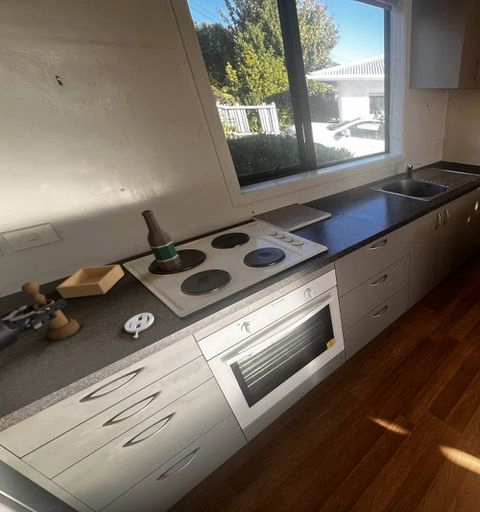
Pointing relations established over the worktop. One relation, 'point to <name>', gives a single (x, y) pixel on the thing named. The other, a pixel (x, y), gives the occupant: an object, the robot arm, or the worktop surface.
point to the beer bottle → (160, 243)
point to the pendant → (139, 323)
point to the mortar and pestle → (56, 327)
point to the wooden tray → (90, 281)
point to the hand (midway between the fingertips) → (54, 300)
